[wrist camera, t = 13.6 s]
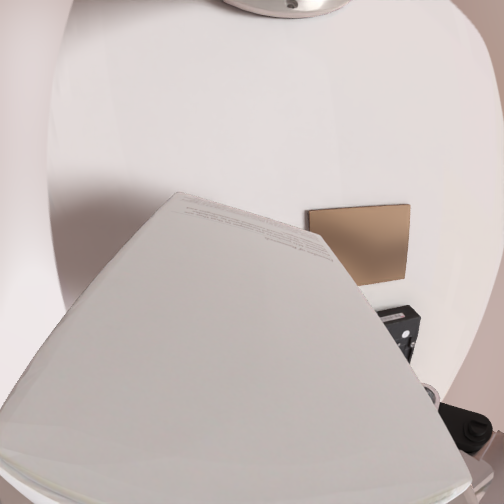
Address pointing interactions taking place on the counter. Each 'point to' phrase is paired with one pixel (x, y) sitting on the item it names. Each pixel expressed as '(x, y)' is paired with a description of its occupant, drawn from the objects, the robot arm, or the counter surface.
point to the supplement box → (224, 380)
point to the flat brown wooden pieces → (366, 240)
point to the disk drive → (402, 327)
